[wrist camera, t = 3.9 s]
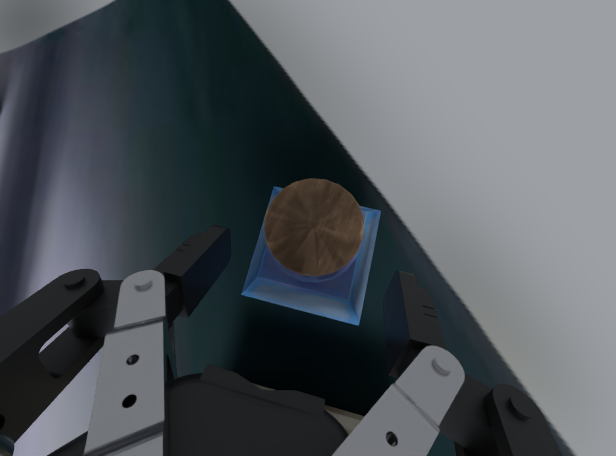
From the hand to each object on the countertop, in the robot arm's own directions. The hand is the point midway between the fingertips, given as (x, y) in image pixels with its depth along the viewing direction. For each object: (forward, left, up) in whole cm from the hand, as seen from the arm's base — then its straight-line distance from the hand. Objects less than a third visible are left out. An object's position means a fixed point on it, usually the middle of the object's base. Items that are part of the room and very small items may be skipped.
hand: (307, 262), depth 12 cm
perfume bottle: (0, +1, -8) cm, 8 cm away
